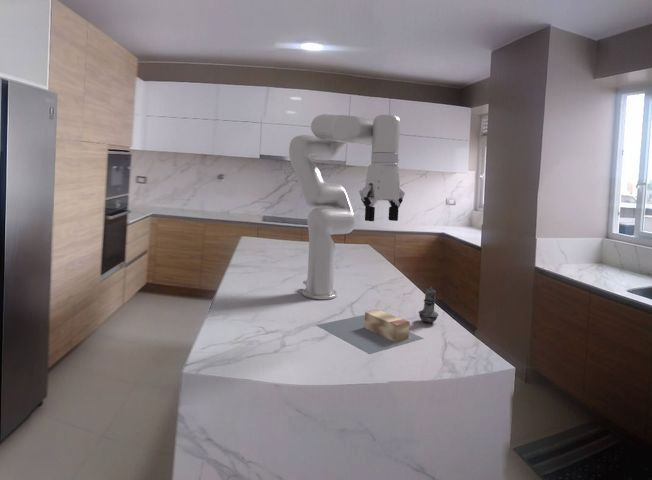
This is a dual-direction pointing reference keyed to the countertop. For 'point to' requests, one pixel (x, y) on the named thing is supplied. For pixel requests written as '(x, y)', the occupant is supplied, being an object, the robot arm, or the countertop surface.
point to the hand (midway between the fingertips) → (381, 220)
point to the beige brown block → (387, 325)
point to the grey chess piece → (428, 307)
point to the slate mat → (363, 335)
